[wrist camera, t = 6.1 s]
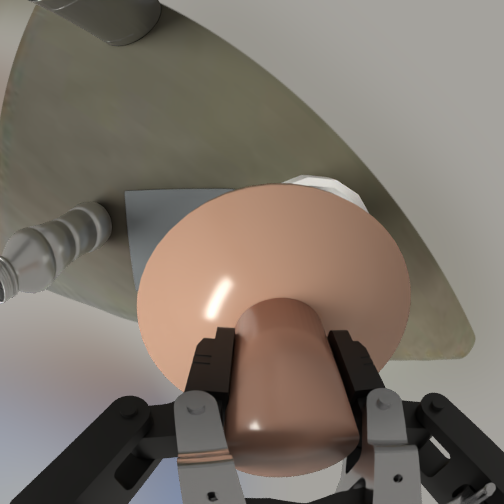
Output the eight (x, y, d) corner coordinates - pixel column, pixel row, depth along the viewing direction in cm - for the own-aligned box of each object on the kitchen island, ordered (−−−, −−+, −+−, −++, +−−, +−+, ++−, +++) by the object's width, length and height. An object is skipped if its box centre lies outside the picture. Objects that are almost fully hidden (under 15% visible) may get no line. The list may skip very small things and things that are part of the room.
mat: (125, 190, 32) (124, 191, 31) (234, 188, 32) (234, 189, 31) (136, 289, 36) (135, 290, 36) (233, 294, 37) (233, 296, 36)
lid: (133, 179, 10) (9, 220, 4) (425, 200, 11) (542, 252, 4) (163, 396, 15) (135, 489, 8) (363, 400, 15) (392, 487, 8)
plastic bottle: (80, 195, 32) (-31, 240, 13) (120, 203, 32) (9, 259, 13) (78, 238, 34) (-18, 303, 15) (116, 248, 34) (23, 329, 16)
